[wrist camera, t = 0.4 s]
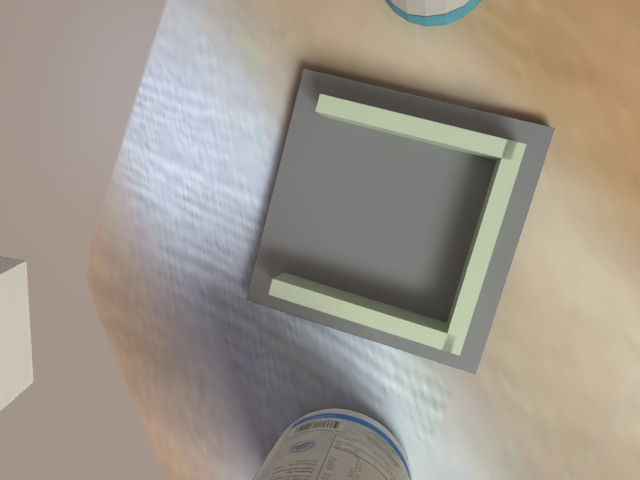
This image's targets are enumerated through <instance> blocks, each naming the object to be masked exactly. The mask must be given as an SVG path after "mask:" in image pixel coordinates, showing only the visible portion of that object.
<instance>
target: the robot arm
mask: <svg viewBox="0 0 640 480" xmlns="http://www.w3.org/2000/svg"><path fill="white" fill-rule="evenodd" d="M32 383H33V369H32V351H31V335H30V319H29V302H28V285H27V268H26V261H25V260H19V259H13V258H7V257H1V256H0V411H1V410H2V409H3V408H4V407H5V406H7V405H8V404H9V403H10V402H11V401H12V400H13V399H15V398H16V397H17V396H18V395H19V394H20V393H21V392H22V391H24V390H25V389H26V388H27V387H28V386H29V385H30V384H32Z"/></svg>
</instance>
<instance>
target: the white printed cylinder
mask: <svg viewBox="0 0 640 480" xmlns="http://www.w3.org/2000/svg"><path fill="white" fill-rule="evenodd" d="M386 1H387V3H388V4H389V5H390V7H391V8H392V9H393V11H394V12H395V13H396V14H398V15H399V16H401V17H402V18H404V19H405V20H407V21H408V22H411V23H415V24H419V25H423V26H437V25H446V24H448V23H451V22H453V21H456V20H458V19H460V18H463V17H464V16H465V15H466V14H467V13H469V12H470V11H471V10H472V9H474V8H475V7H476V6H477V5H478V4H479V2H480V1H481V0H386Z"/></svg>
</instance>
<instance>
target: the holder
mask: <svg viewBox="0 0 640 480" xmlns="http://www.w3.org/2000/svg"><path fill="white" fill-rule="evenodd" d="M554 129H555V128H552V127H548V126H544V125H539V124H535V123H531V122H527V121H523V120H518V119H514V118H510V117H506V116H501V115H497V114H493V113H489V112H485V111H480V110H476V109H472V108H468V107H464V106H459V105H455V104H451V103H447V102H442V101H438V100H434V99H430V98H426V97H421V96H417V95H413V94H409V93H405V92H400V91H396V90H392V89H388V88H383V87H379V86H375V85H371V84H367V83H362V82H358V81H354V80H350V79H346V78H341V77H337V76H333V75H329V74H324V73H320V72H316V71H312V70H308V69H304V70H303V74H302V78H301V82H300V86H299V90H298V94H297V98H296V102H295V106H294V110H293V114H292V118H291V122H290V126H289V130H288V134H287V138H286V142H285V146H284V150H283V154H282V158H281V162H280V166H279V170H278V174H277V178H276V182H275V186H274V190H273V194H272V198H271V202H270V206H269V210H268V214H267V218H266V222H265V226H264V230H263V234H262V238H261V242H260V246H259V250H258V254H257V258H256V262H255V266H254V270H253V274H252V278H251V282H250V286H249V290H248V294H247V298H246V300H248V301H251V302H254V303H257V304H260V305H263V306H266V307H269V308H272V309H275V310H278V311H282V312H285V313H288V314H291V315H294V316H297V317H300V318H303V319H306V320H309V321H312V322H316V323H319V324H322V325H325V326H328V327H331V328H334V329H337V330H340V331H343V332H346V333H350V334H353V335H356V336H359V337H362V338H365V339H368V340H371V341H374V342H377V343H380V344H384V345H387V346H390V347H393V348H396V349H399V350H402V351H405V352H408V353H411V354H414V355H417V356H421V357H424V358H427V359H430V360H433V361H436V362H439V363H442V364H445V365H448V366H451V367H455V368H458V369H461V370H464V371H467V372H470V373H473V374H476V372H477V369H478V365H479V362H480V359H481V356H482V353H483V350H484V347H485V344H486V341H487V337H488V334H489V331H490V328H491V325H492V322H493V319H494V316H495V313H496V309H497V306H498V303H499V300H500V297H501V294H502V291H503V288H504V285H505V282H506V278H507V275H508V272H509V269H510V266H511V263H512V260H513V257H514V254H515V250H516V247H517V244H518V241H519V238H520V235H521V232H522V229H523V226H524V222H525V219H526V216H527V213H528V210H529V207H530V204H531V201H532V198H533V194H534V191H535V188H536V185H537V182H538V179H539V176H540V173H541V170H542V166H543V163H544V160H545V157H546V154H547V151H548V148H549V145H550V142H551V138H552V135H553V132H554Z"/></svg>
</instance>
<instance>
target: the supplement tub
mask: <svg viewBox="0 0 640 480" xmlns="http://www.w3.org/2000/svg"><path fill="white" fill-rule="evenodd" d="M252 480H413V479H412V473H411V468H410V465H409V462H408V459H407V457H406V454H405V452H404V451H403V449H402V447H401V445H400V444H399V442H398V441H397V440H396V438H395V437H394V436H393V435H392V434H391V433H390V432H389V431H388V430H387V429H386V428H385V427H384V426H382V425H381V424H380V423H378V422H377V421H375V420H374V419H372V418H370V417H368V416H366V415H364V414H361V413H359V412H355V411H352V410H347V409H337V408H333V409H323V410H318V411H315V412H311V413H309V414H306V415H304V416H303V417H301V418H299V419H298V420H296V421H295V422H293V423H292V424H291V425H290V426H289V427H288V428H287V429H286V430H285V431H284V432H283V434H282V435H281V436H280V438H279V439H278V441H277V442H276V444H275V445H274V447H273V448H272V450H271V451H270V453H269V454H268V456H267V458H266V459H265V461H264V462H263V464H262V465H261V467H260V469H259V470H258V472H257V473H256V475H255V476H254V478H253V479H252Z"/></svg>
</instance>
